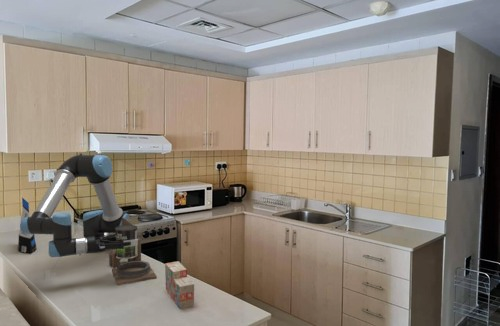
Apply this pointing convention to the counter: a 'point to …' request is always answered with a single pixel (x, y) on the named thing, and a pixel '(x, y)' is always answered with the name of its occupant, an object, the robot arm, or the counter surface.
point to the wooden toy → (113, 260)
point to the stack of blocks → (179, 284)
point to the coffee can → (122, 235)
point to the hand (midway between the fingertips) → (135, 239)
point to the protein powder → (26, 240)
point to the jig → (133, 272)
